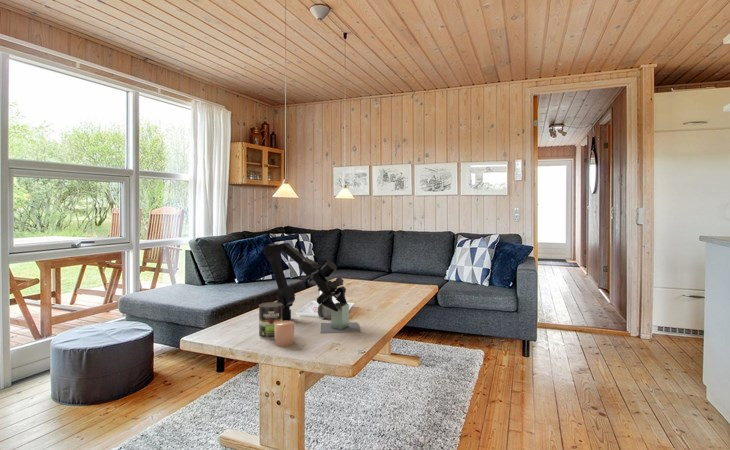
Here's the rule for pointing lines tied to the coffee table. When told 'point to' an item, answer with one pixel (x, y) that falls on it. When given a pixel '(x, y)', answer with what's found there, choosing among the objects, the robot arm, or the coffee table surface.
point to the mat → (351, 329)
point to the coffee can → (269, 318)
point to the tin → (340, 316)
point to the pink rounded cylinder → (284, 333)
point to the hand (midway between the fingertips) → (342, 308)
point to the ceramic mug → (324, 312)
